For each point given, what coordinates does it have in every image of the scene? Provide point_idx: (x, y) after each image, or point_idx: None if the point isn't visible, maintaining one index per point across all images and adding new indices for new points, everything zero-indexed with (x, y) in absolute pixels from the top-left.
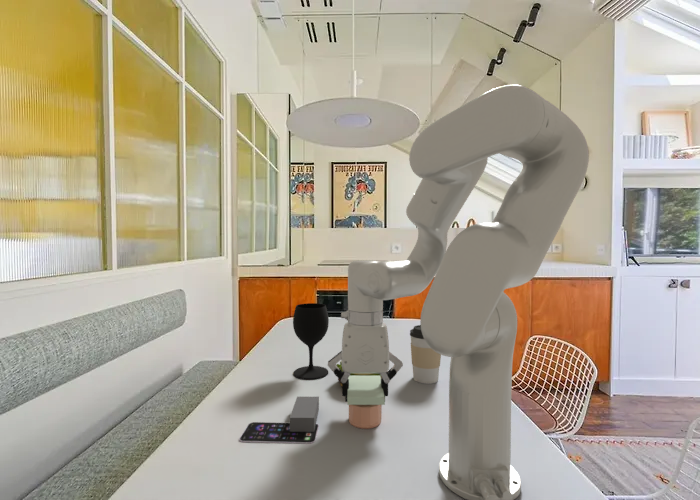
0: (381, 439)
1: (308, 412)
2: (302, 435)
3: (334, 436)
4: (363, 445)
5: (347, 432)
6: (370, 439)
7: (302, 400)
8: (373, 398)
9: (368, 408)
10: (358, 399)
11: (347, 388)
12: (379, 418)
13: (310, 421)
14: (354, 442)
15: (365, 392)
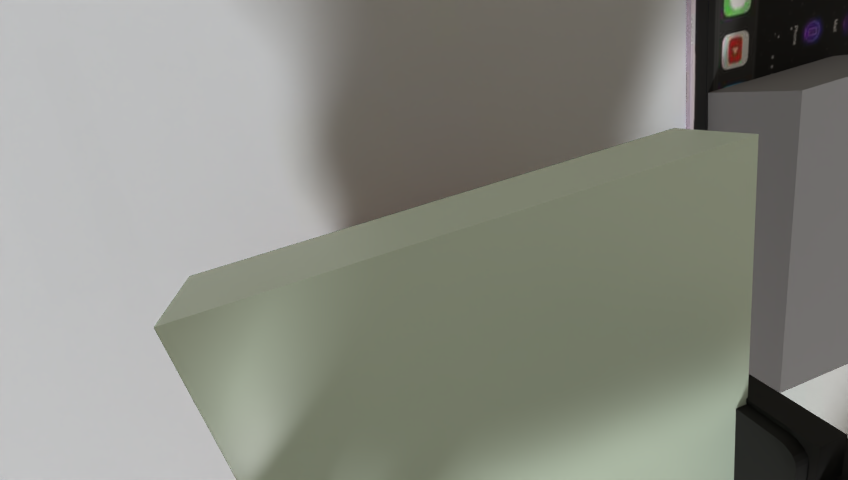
0: (259, 127)
1: (836, 161)
2: (766, 27)
3: (583, 79)
4: (371, 6)
5: (513, 153)
6: (340, 105)
7: None
8: (365, 254)
9: None
10: (589, 175)
11: (754, 399)
12: None
13: (795, 84)
14: (443, 33)
15: (525, 392)
